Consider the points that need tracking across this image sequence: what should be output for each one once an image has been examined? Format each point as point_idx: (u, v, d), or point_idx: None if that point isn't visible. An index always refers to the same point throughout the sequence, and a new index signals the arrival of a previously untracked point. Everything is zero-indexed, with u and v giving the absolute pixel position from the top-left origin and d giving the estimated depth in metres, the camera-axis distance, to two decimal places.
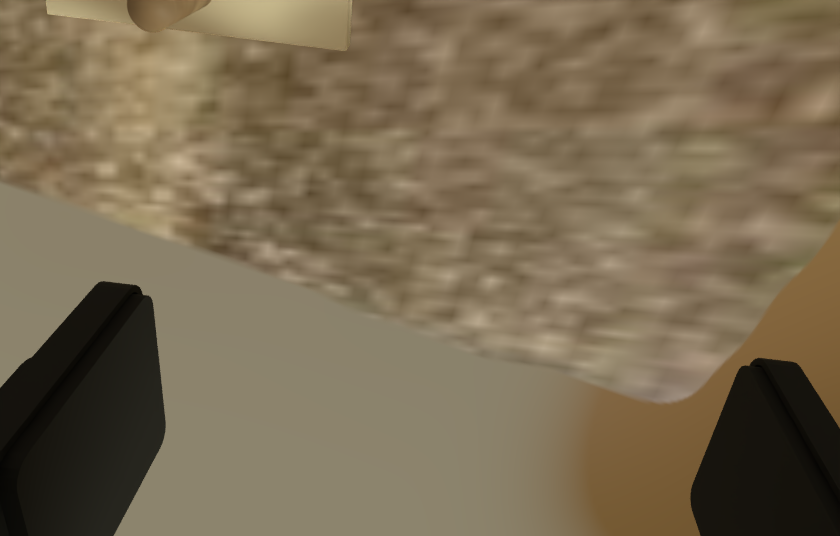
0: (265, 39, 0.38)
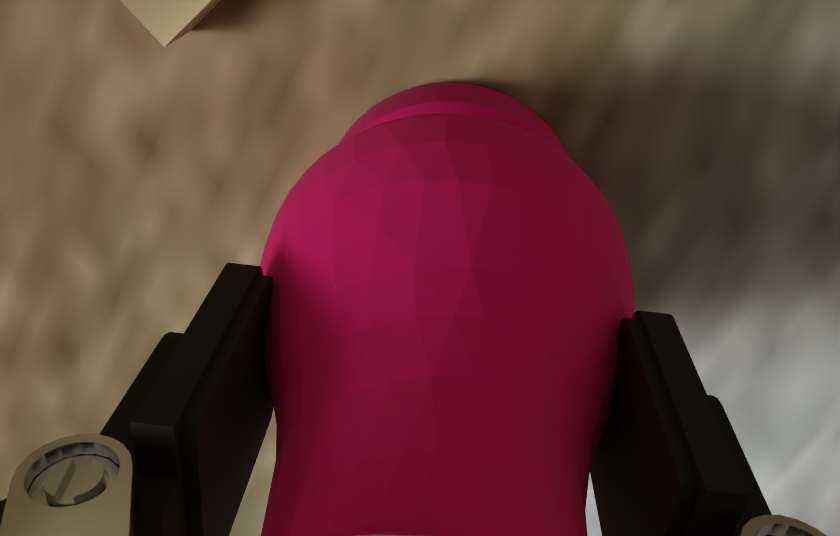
0: None
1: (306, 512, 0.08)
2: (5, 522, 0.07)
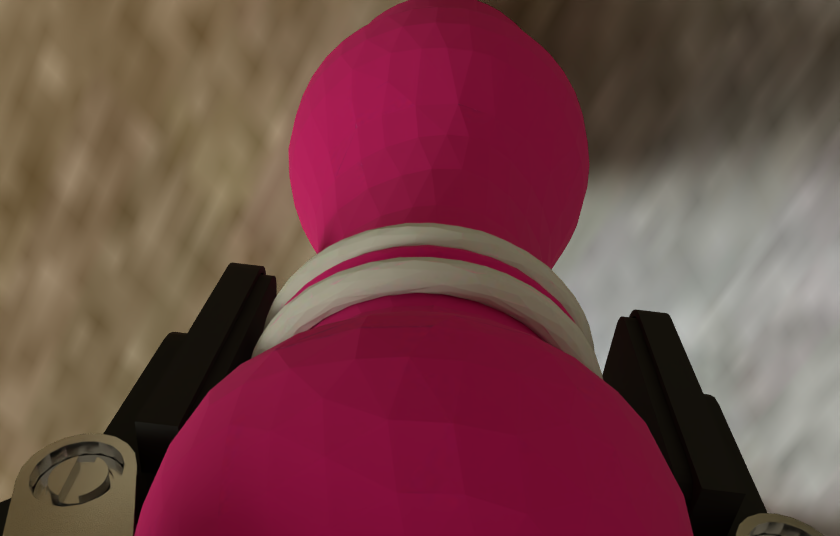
0: None
1: None
2: (10, 521, 0.07)
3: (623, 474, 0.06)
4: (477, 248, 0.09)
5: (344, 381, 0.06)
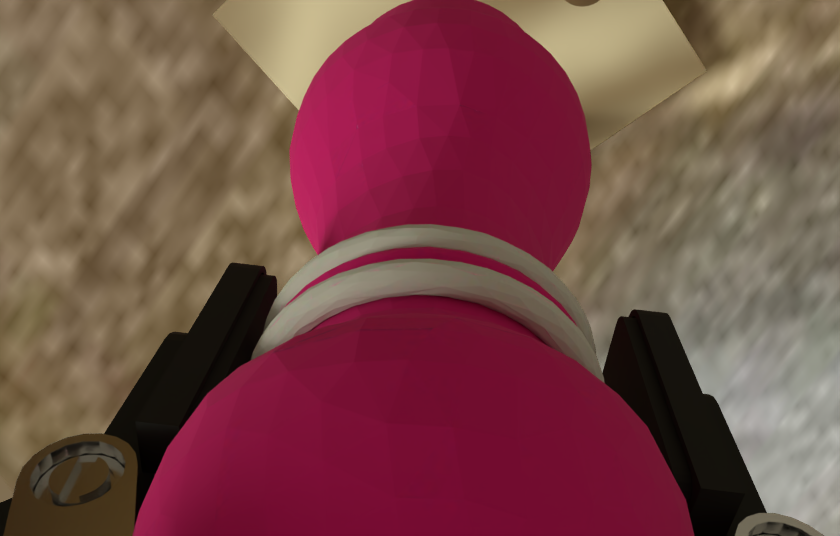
0: None
1: None
2: (11, 521, 0.07)
3: (625, 478, 0.06)
4: (478, 250, 0.09)
5: (342, 383, 0.06)
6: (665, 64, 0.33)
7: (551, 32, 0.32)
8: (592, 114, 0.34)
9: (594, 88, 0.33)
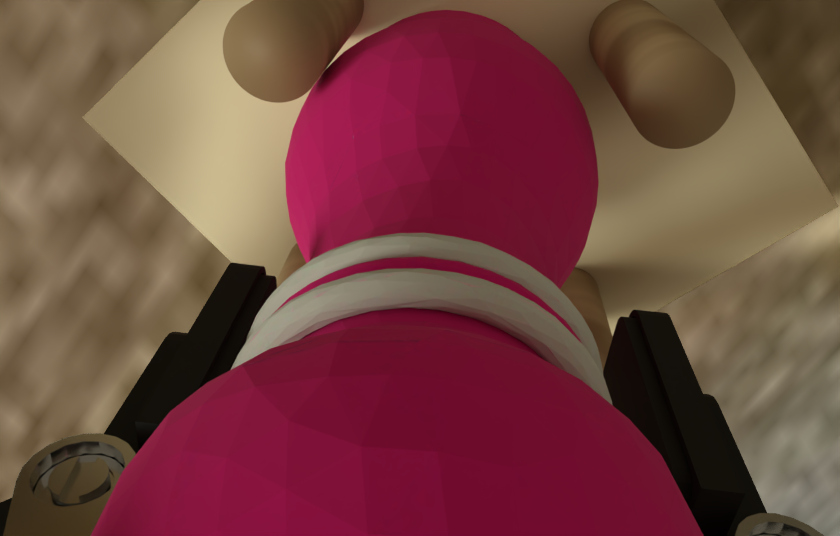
0: (178, 26, 0.20)
1: None
2: (10, 521, 0.07)
3: (637, 515, 0.05)
4: (475, 260, 0.09)
5: (312, 401, 0.05)
6: (774, 196, 0.21)
7: (600, 149, 0.21)
8: (658, 264, 0.23)
9: (662, 229, 0.22)
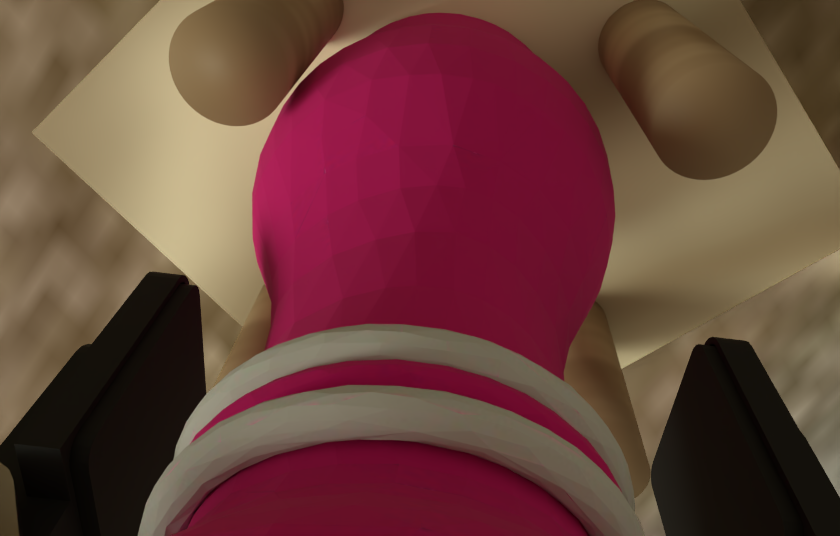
0: (135, 31, 0.18)
1: (296, 338, 0.08)
2: None
3: None
4: (468, 365, 0.07)
5: None
6: (803, 219, 0.19)
7: (610, 167, 0.19)
8: (673, 292, 0.20)
9: (678, 254, 0.20)
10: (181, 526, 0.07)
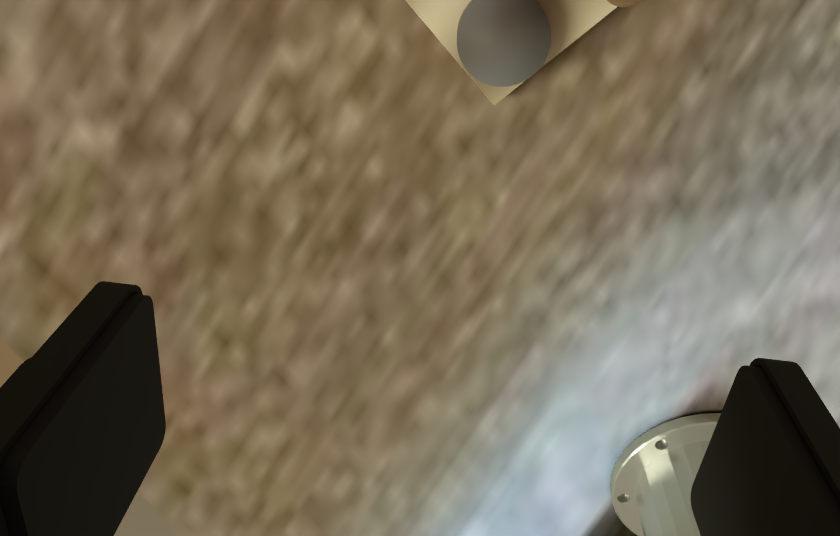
0: None
1: None
2: None
3: None
4: None
5: None
6: None
7: None
8: None
9: None
10: None
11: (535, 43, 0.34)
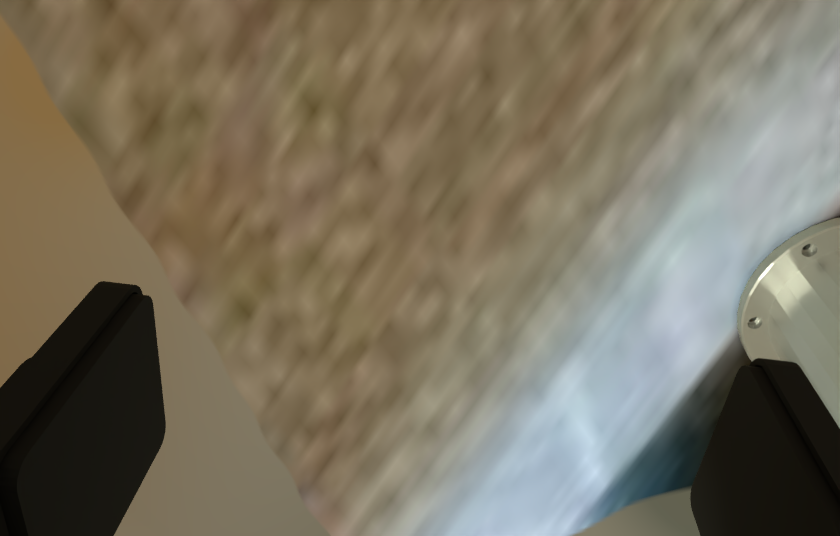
0: None
1: None
2: None
3: None
4: None
5: None
6: None
7: None
8: None
9: None
10: None
11: None
